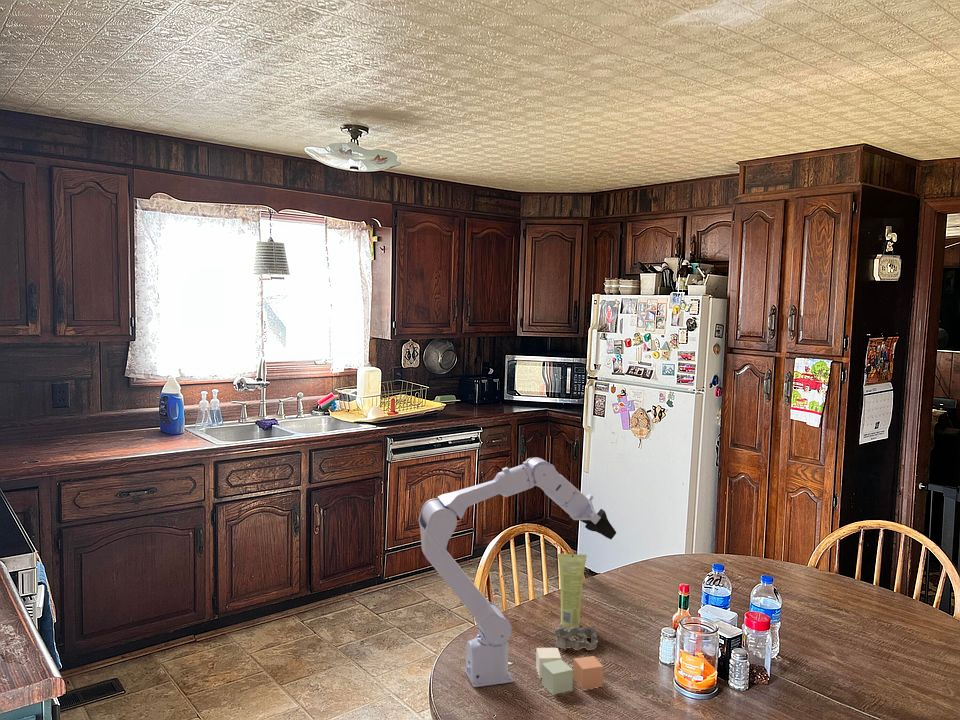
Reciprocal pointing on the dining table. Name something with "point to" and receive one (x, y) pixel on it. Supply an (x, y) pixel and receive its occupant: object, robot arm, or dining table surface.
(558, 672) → the sage block
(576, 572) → the tube
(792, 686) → the dining table surface
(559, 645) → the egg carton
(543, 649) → the cream block
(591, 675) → the terracotta block
